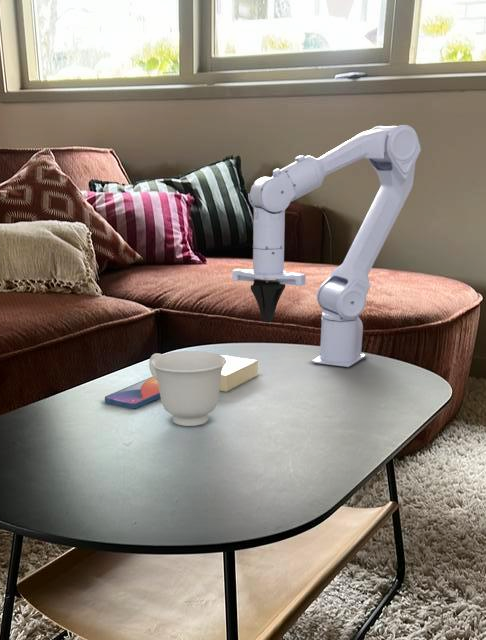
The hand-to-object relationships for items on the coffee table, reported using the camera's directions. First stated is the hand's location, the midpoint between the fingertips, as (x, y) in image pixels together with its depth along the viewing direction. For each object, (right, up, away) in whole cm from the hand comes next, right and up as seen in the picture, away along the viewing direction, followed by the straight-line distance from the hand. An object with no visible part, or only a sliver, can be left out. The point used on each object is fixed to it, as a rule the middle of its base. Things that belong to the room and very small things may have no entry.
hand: (267, 321), depth 147 cm
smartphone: (-23, -16, -10) cm, 29 cm away
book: (-9, -12, -2) cm, 15 cm away
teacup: (-15, -22, -22) cm, 34 cm away
